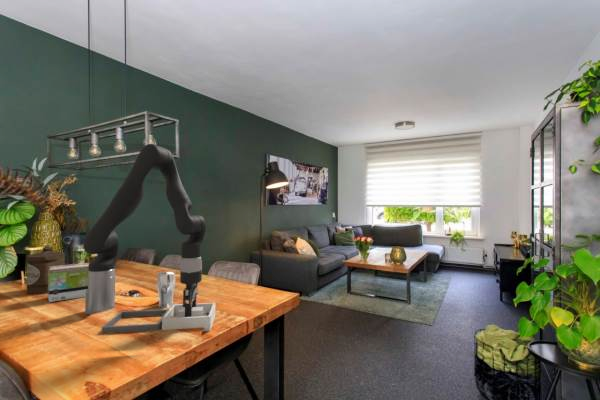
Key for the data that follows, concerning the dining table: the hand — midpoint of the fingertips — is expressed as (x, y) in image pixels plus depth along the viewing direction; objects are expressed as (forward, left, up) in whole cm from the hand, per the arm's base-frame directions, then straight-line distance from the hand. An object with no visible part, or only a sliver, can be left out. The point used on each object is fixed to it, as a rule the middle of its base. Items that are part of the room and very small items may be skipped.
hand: (190, 312), depth 110 cm
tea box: (-62, +40, -4) cm, 74 cm away
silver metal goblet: (-13, +18, -4) cm, 23 cm away
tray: (-18, 0, -4) cm, 18 cm away
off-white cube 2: (+2, 0, -3) cm, 4 cm away
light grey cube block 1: (-2, 0, -3) cm, 3 cm away
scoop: (0, 0, -3) cm, 3 cm away
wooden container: (-80, +54, -4) cm, 97 cm away
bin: (0, 0, -4) cm, 4 cm away
